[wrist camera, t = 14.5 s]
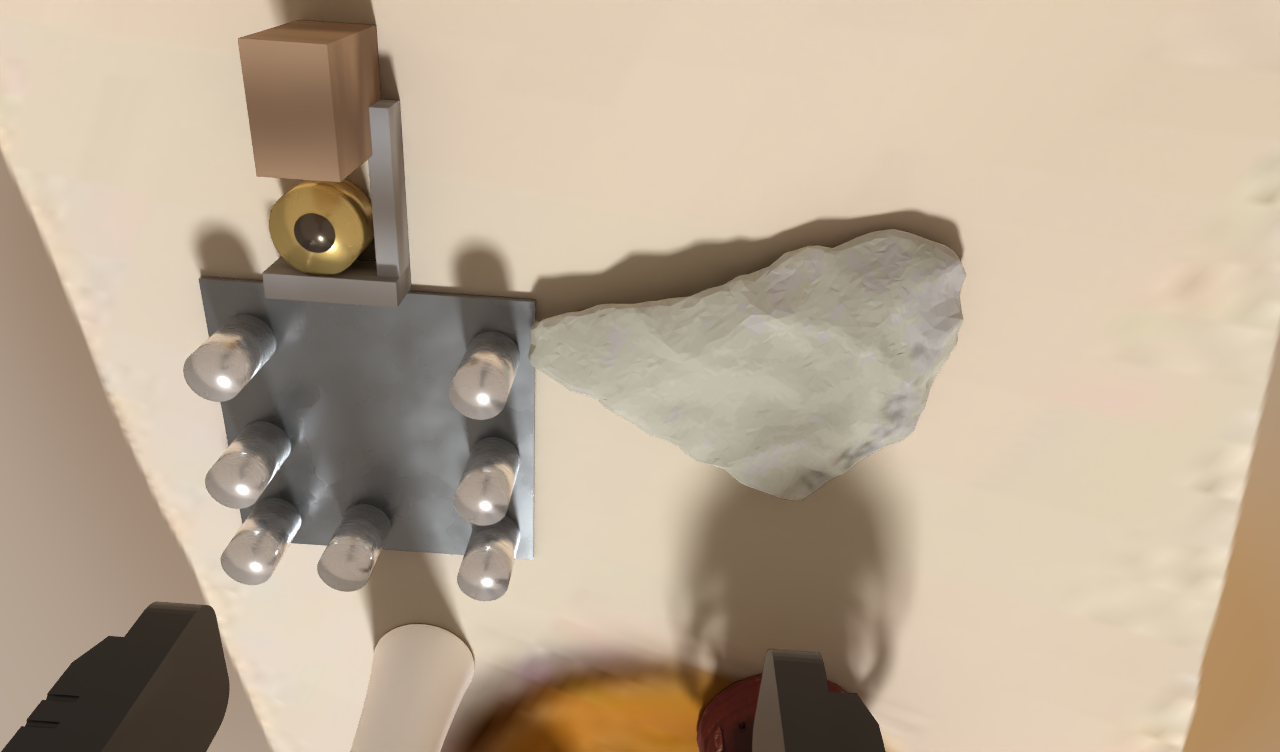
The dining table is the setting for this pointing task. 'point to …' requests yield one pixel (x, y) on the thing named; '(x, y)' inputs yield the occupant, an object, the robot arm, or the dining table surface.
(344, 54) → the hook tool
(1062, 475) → the dining table surface
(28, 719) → the robot arm
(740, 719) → the lantern
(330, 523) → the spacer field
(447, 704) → the cosmetic bottle
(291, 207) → the gold short cylinder
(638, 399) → the stone tool
